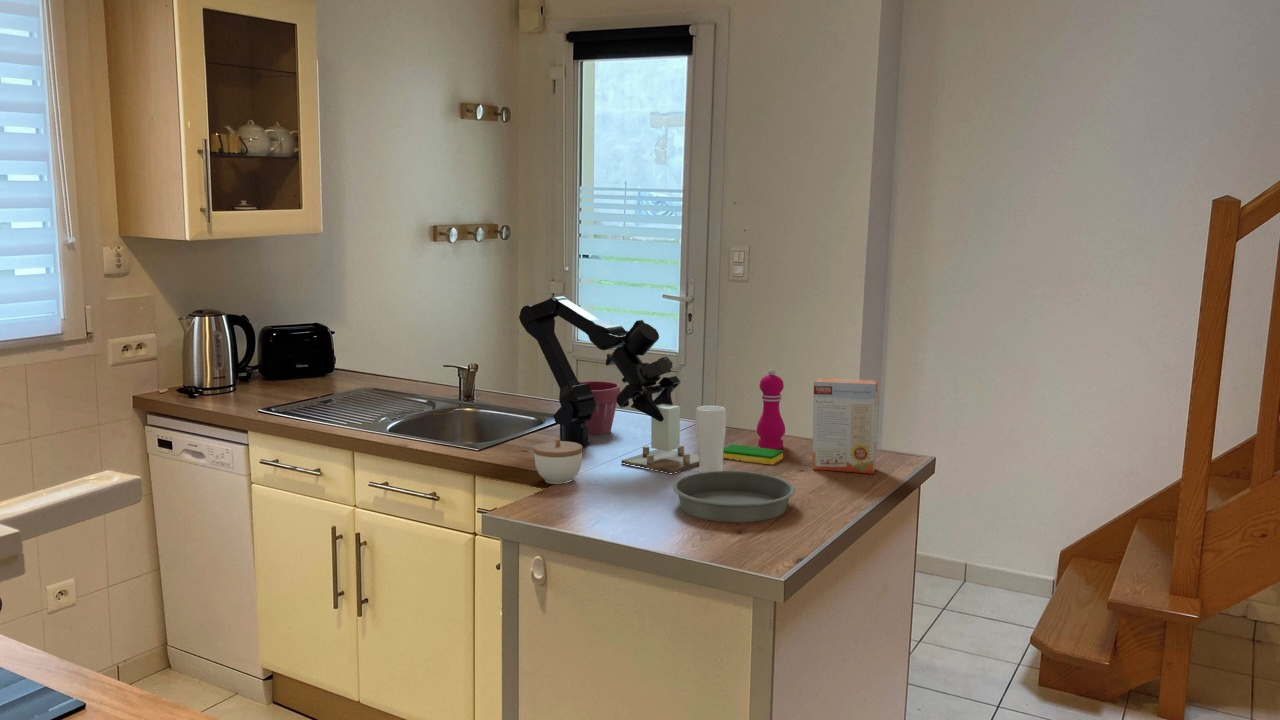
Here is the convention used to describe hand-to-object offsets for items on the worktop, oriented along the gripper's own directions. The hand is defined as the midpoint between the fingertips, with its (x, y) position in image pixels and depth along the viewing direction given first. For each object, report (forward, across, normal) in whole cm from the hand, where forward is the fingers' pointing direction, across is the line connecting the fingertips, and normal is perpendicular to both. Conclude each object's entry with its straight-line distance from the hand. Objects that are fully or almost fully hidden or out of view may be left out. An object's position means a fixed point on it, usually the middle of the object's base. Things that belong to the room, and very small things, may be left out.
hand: (668, 418), depth 235 cm
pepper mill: (+15, +29, 0) cm, 33 cm away
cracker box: (+33, +20, -17) cm, 42 cm away
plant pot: (-18, +16, +34) cm, 42 cm away
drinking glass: (+17, -1, -1) cm, 17 cm away
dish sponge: (+17, +16, -1) cm, 24 cm away
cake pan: (+30, -20, -14) cm, 39 cm away
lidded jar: (+1, -27, +15) cm, 31 cm away
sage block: (+4, 0, +6) cm, 7 cm away
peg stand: (+7, 0, +8) cm, 11 cm away
